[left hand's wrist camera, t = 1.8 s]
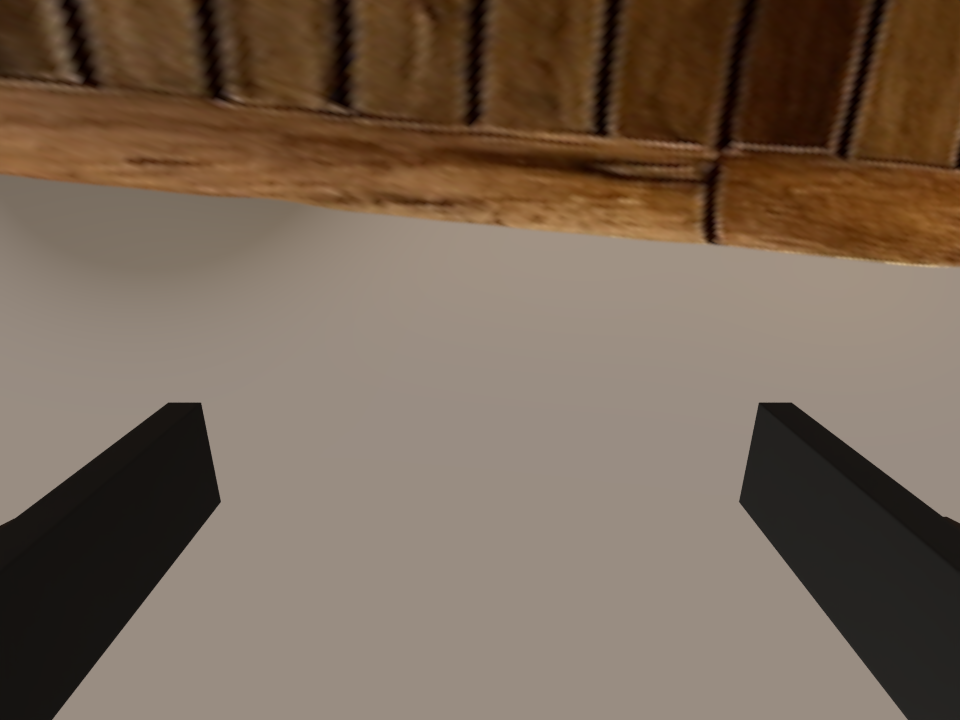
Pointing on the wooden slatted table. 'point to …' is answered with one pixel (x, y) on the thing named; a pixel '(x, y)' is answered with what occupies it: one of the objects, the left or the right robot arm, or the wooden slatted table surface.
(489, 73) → the wooden slatted table surface
